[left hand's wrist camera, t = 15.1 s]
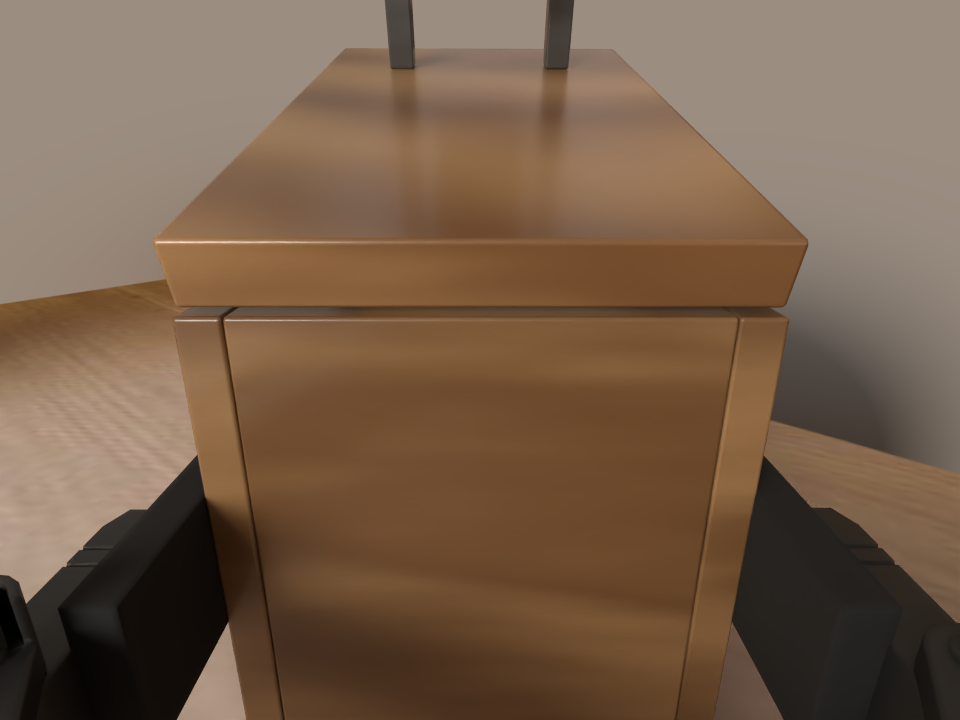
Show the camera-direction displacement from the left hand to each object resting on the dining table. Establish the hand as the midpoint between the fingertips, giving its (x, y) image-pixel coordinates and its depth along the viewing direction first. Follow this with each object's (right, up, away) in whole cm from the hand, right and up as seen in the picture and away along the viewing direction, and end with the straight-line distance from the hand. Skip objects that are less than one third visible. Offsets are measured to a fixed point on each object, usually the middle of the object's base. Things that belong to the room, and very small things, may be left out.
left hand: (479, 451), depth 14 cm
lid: (0, +8, +1) cm, 8 cm away
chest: (0, -5, +5) cm, 7 cm away
